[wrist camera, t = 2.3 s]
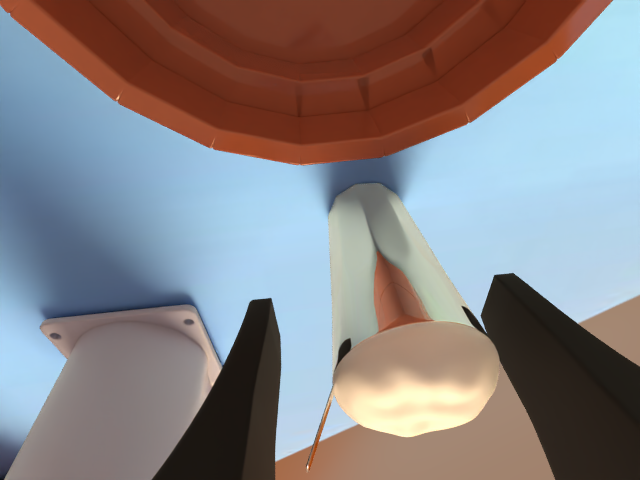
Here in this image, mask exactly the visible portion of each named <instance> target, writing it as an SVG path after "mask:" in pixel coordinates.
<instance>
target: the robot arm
mask: <svg viewBox="0 0 640 480" xmlns="http://www.w3.org/2000/svg"><path fill="white" fill-rule="evenodd" d="M481 318H482V321H483V324H484V326H485V329H486V332H487V334H488V337H489V338H490V340H491V341H492V343H493V344H494V346H495V348H496V350H497V352H498V355H499V359H500V362H501V364H502V366H503V368H504V370H505V371H506V373H507V375H508V377H509V379H510V381H511V383H512V385H513V386H514V388H515V390H516V392H517V394H518V396H519V398H520V400H521V402H522V403H523V405H524V407H525V409H526V411H527V413H528V415H529V417H530V419H531V421H532V423H533V426H534V428H535V430H536V433H537V435H538V437H539V440H540V442H541V445H542V447H543V449H544V452H545V454H546V457H547V459H548V462H549V465H550V467H551V469H552V472H553V475H554V477H555V480H640V367H639V366H638V365H636V364H635V363H633V362H631V361H630V360H628V359H627V358H625V357H624V356H622V355H621V354H619V353H618V352H616V351H615V350H613V349H612V348H610V347H609V346H608V345H606V344H605V343H604V342H602V341H601V340H599V339H598V338H596V337H595V336H594V335H592V334H591V333H589V332H588V331H587V330H585V329H584V328H583V327H581V326H580V325H579V324H577V323H576V322H575V321H573V320H572V319H571V318H569V317H568V316H567V315H566V314H564V313H563V312H562V311H560V310H559V309H558V308H557V307H555V306H554V305H553V304H552V303H550V302H549V301H548V300H547V299H545V298H544V297H543V296H541V295H540V294H539V293H538V292H536V291H535V290H534V289H533V288H532V287H530V286H529V285H528V284H527V283H525V282H524V281H523V280H521V279H520V278H519V277H518V276H516V275H515V274H514V273H510V274H500V275H494V278H493V281H492V284H491V287H490V290H489V293H488V296H487V299H486V301H485V304H484V307H483V310H482V313H481ZM40 330H41V331H42V332H43V333H44V334H45V336H46V337H47V338H48V339H49V340H50V341H51V342H52V343H53V344H54V345H55V346H56V347H57V349H58V350H59V351H60V352H61V353H62V354H63V355H64V356H65V357H66V358H67V359H68V360H67V362H66V363H65V365H64V367H63V369H62V371H61V373H60V375H59V377H58V379H57V380H56V382H55V384H54V386H53V388H52V390H51V392H50V394H49V396H48V397H47V399H46V401H45V403H44V405H43V407H42V409H41V411H40V413H39V415H38V416H37V418H36V420H35V422H34V424H33V426H32V428H31V430H30V432H29V433H28V435H27V437H26V439H25V441H24V443H23V445H22V447H21V449H20V450H19V452H18V454H17V456H16V458H15V460H14V462H13V464H12V466H11V468H10V469H9V471H8V473H7V475H6V477H5V479H4V480H275V441H276V427H277V414H278V401H279V389H280V376H281V343H280V333H279V329H278V325H277V320H276V316H275V312H274V308H273V303H272V299H271V298H268V299H258V300H252V301H251V302H250V303H249V306H248V309H247V312H246V315H245V318H244V320H243V323H242V325H241V328H240V330H239V333H238V335H237V337H236V340H235V342H234V344H233V346H232V349H231V351H230V353H229V355H228V357H227V359H226V361H225V363H224V366H223V368H222V365H221V363H220V361H219V359H218V357H217V354H216V352H215V350H214V348H213V345H212V343H211V341H210V339H209V336H208V334H207V332H206V330H205V327H204V325H203V323H202V321H201V318H200V316H199V314H198V312H197V310H196V308H195V307H193V306H192V305H175V306H166V307H156V308H147V309H137V310H128V311H118V312H109V313H99V314H90V315H80V316H71V317H61V318H52V319H46V320H44V321H43V322H42V324H41V326H40Z"/></svg>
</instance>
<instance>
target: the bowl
mask: <svg viewBox="0 0 640 480" xmlns="http://www.w3.org/2000/svg"><path fill="white" fill-rule="evenodd" d="M612 1H613V0H0V5H1V7H2V8H3V9H4V10H5V11H6V12H7V13H10V16H11V17H12V18H13V19H14V20H16V21H17V22H18V23H19V24H20V25H22V26H23V27H24V28H25V29H27V30H28V31H29V32H30V33H31V34H33V35H34V36H35V37H36V38H38V39H39V40H40V41H41V42H43V43H44V44H45V45H46V46H47V47H49V48H50V49H51V50H52V51H54V52H55V53H56V54H57V55H59V56H60V57H61V58H62V59H63V60H65V61H66V62H67V63H68V64H70V65H71V66H72V67H73V68H75V69H76V70H77V71H78V72H79V73H81V74H82V75H83V76H84V77H86V78H87V79H88V80H89V81H90V82H92V83H93V84H94V85H95V86H97V87H98V88H99V89H100V90H102V91H103V92H104V93H105V94H106V95H108V96H109V97H110V98H111V99H113V100H114V101H118V103H119V104H120V105H122V106H124V107H126V108H128V109H130V110H132V111H134V112H136V113H138V114H140V115H143V116H145V117H147V118H149V119H151V120H153V121H155V122H157V123H159V124H161V125H163V126H165V127H167V128H169V129H171V130H173V131H175V132H178V133H180V134H182V135H184V136H186V137H188V138H190V139H192V140H194V141H196V142H198V143H200V144H202V145H204V146H206V147H208V148H212V147H213V149H214V150H219V151H224V152H230V153H235V154H240V155H246V156H251V157H256V158H262V159H267V160H272V161H278V162H283V163H288V164H294V165H299V164H300V165H312V164H322V163H332V162H342V161H352V160H362V159H371V158H381V157H383V156H388V155H391V154H394V153H396V152H399V151H401V150H404V149H406V148H409V147H411V146H414V145H416V144H419V143H421V142H424V141H426V140H429V139H431V138H434V137H437V136H439V135H442V134H444V133H447V132H449V131H452V130H454V129H457V128H459V127H462V126H464V125H467V124H468V122H469V123H471V122H472V121H474V120H475V119H477V118H478V117H479V116H481V115H482V114H484V113H485V112H486V111H488V110H489V109H491V108H492V107H493V106H495V105H496V104H498V103H499V102H500V101H502V100H503V99H505V98H506V97H507V96H509V95H510V94H512V93H513V92H514V91H516V90H517V89H519V88H520V87H521V86H523V85H524V84H526V83H527V82H528V81H530V80H531V79H533V78H534V77H535V76H537V75H538V74H540V73H541V72H542V71H544V70H545V69H547V68H548V67H549V66H551V65H552V64H554V63H555V62H556V61H557V59H559V58H560V57H561V56H562V55H563V54H564V53H565V52H566V51H567V50H568V49H569V48H570V47H571V45H572V44H573V43H574V42H575V41H576V40H577V39H578V38H579V37H580V36H581V35H582V33H583V32H584V31H585V30H586V29H587V28H588V27H589V26H590V25H591V24H592V23H593V22H594V20H595V19H596V18H597V17H598V16H599V15H600V14H601V13H602V12H603V11H604V10H605V8H606V7H607V6H608V5H609V4H610V3H611V2H612Z"/></svg>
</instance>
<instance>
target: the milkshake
mask: <svg viewBox="0 0 640 480" xmlns="http://www.w3.org/2000/svg"><path fill="white" fill-rule="evenodd" d="M328 229H329V253H330V276H331V297H332V373H333V386H332V390H331V393H330V396H329V399H328V402H327V405H326V408H325V411H324V414H323V417H322V420H321V423H320V426H319V429H318V432H317V435H316V438H315V441H314V444H313V447H312V450H311V453H310V456H309V459H308V462H307V465H306V471H307V473H308V472H309V470H310V467H311V464H312V461H313V458H314V455H315V452H316V448H317V445H318V442H319V439H320V436H321V433H322V430H323V427H324V424H325V421H326V418H327V414H328V411H329V408H330V405H331V402H332V399H333V396H334V395H335V398H336V400H337V402H338V404H339V405H340V407H341V408H342V409H343V411H344V412H345V413H346V414H347V415H348V416H349V417H351V418H352V419H353V420H354V421H356V422H357V423H359V424H360V425H362V426H364V427H367V428H370V429H374V430H377V431H381V432H386V433H390V434H394V435H398V436H403V437H412V436H416V435H420V434H423V433H426V432H431V431H437V430H443V429H448V428H452V427H456V426H459V425H462V424H464V423H467V422H469V421H471V420H472V419H474V418H475V417H476V416H477V415H478V414H479V413H480V412H481V410H482V409H483V407H484V406H485V404H486V402H487V401H488V399H489V398H490V397H491V395H492V394H493V392H494V390H495V388H496V385H497V381H498V377H499V371H500V359H499V355H498V352H497V350H496V348H495V346H494V344H493V343H492V341H491V340H490V338H489V337H488V335H487V334H486V332H485V331H484V329H483V328H482V326H481V325H480V323H479V322H478V320H477V319H476V317H475V316H474V314H473V313H472V311H471V310H470V308H469V307H468V305H467V304H466V302H465V301H464V299H463V298H462V296H461V295H460V293H459V292H458V290H457V289H456V287H455V286H454V284H453V283H452V281H451V280H450V278H449V277H448V275H447V274H446V272H445V271H444V269H443V267H442V266H441V264H440V262H439V261H438V259H437V258H436V256H435V254H434V253H433V251H432V249H431V248H430V246H429V245H428V243H427V241H426V240H425V238H424V237H423V235H422V233H421V232H420V230H419V229H418V227H417V225H416V224H415V222H414V220H413V219H412V217H411V216H410V214H409V212H408V211H407V209H406V208H405V206H404V204H403V203H402V201H401V200H400V198H399V197H398V195H397V194H396V193H394V192H392V191H391V190H389V189H388V188H386V187H385V186H383V185H382V184H380V183H365V184H355V185H353V186H352V187H350V188H349V189H347V190H345V191H344V192H342V193H341V194H339V195H338V196H336V198H335V200H334V203H333V205H332V208H331V210H330V212H329V215H328Z"/></svg>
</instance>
